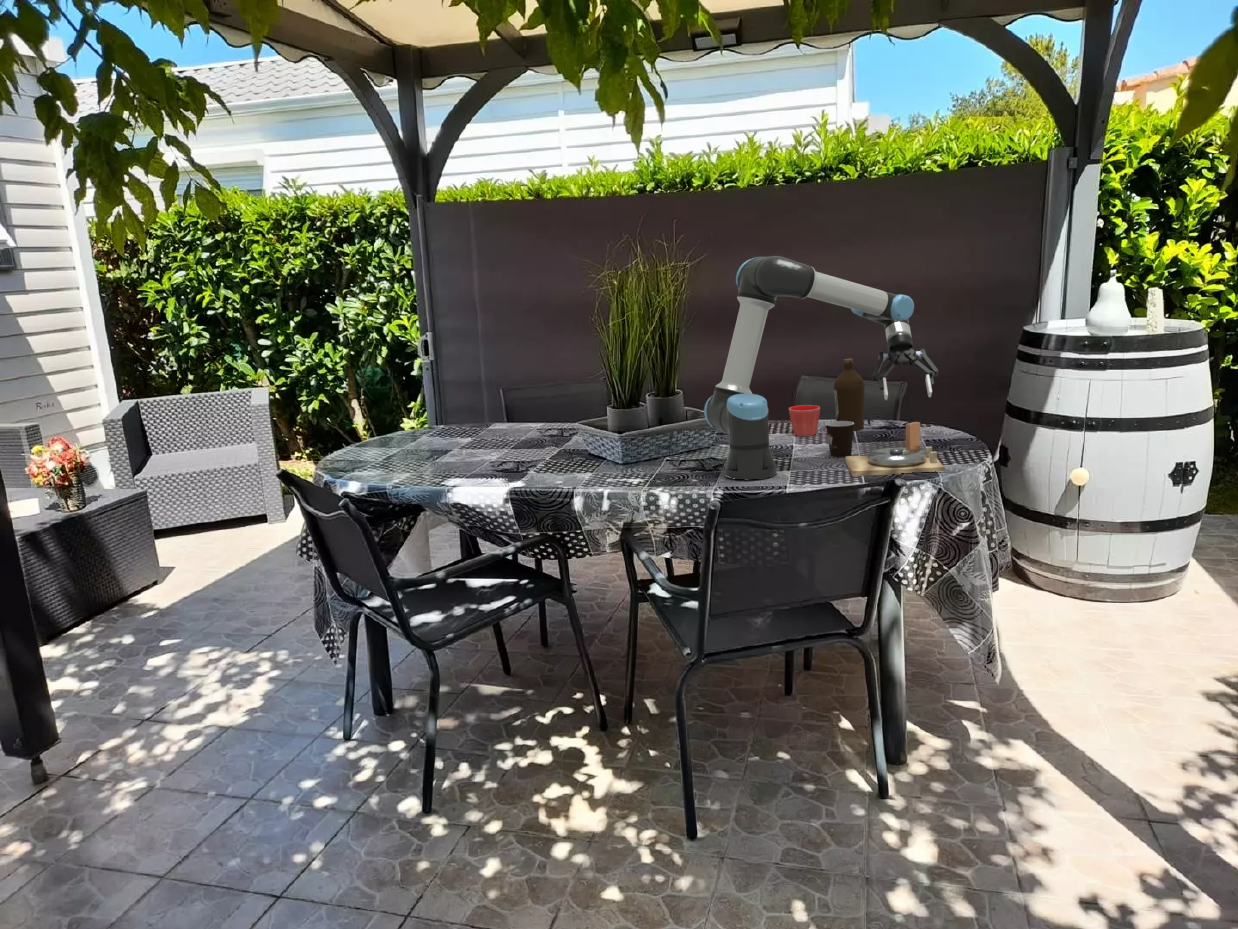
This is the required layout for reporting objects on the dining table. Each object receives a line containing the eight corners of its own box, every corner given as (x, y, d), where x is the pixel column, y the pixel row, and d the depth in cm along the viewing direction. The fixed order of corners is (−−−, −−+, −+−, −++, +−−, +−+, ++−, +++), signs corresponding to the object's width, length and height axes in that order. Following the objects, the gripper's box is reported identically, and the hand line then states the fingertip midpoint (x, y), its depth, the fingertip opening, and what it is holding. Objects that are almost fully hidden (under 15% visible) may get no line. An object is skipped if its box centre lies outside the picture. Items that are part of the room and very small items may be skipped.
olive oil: (866, 425, 316) (865, 356, 310) (864, 431, 306) (862, 360, 301) (836, 426, 320) (834, 357, 314) (833, 431, 310) (831, 361, 304)
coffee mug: (855, 457, 269) (855, 425, 267) (827, 458, 271) (826, 426, 269) (853, 449, 280) (852, 418, 278) (826, 450, 282) (825, 420, 280)
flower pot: (824, 436, 304) (823, 408, 302) (792, 438, 305) (791, 411, 303) (817, 430, 315) (816, 403, 313) (787, 432, 315) (786, 406, 313)
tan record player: (852, 476, 247) (851, 460, 246) (845, 461, 265) (845, 446, 264) (944, 472, 243) (944, 456, 242) (931, 457, 261) (931, 442, 260)
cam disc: (895, 469, 243) (894, 434, 241) (856, 460, 257) (855, 427, 255) (939, 459, 250) (939, 425, 248) (898, 451, 264) (898, 419, 262)
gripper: (938, 344, 276) (948, 400, 264) (858, 350, 280) (866, 405, 268) (941, 329, 269) (952, 385, 258) (860, 335, 273) (867, 391, 262)
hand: (908, 396), depth 263 cm, fingers open, 12 cm apart
